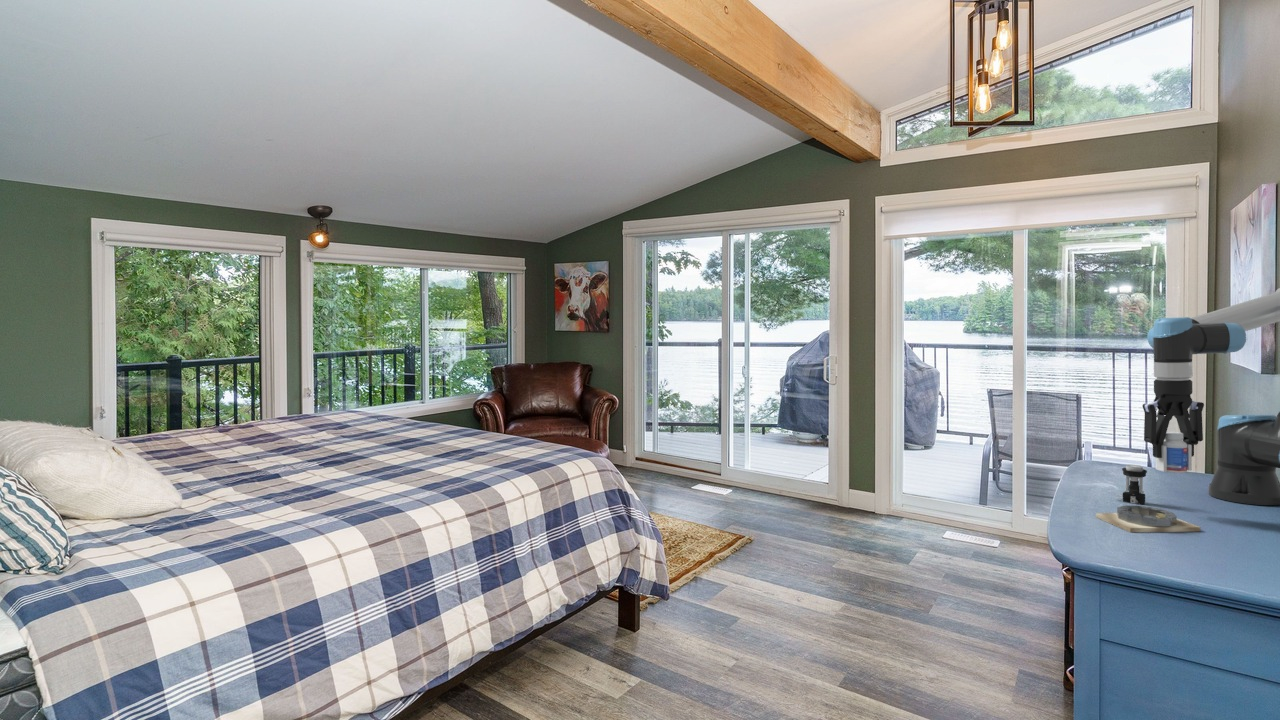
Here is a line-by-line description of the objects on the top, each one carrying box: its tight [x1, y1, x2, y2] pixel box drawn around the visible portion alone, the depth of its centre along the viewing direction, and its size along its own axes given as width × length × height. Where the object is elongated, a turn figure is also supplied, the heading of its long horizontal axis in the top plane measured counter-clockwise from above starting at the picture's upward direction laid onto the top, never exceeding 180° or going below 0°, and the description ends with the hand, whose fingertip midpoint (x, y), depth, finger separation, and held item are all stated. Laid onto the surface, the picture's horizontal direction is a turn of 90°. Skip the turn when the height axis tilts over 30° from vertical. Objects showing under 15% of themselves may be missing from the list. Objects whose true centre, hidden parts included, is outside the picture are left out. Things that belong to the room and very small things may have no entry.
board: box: [1095, 512, 1201, 533], centre depth 156 cm, size 16×12×1 cm
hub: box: [1116, 504, 1178, 527], centre depth 156 cm, size 11×11×3 cm
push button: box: [1115, 464, 1148, 506], centre depth 175 cm, size 7×5×10 cm
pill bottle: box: [1163, 431, 1188, 474], centre depth 163 cm, size 6×5×10 cm
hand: (1173, 469), depth 163 cm, fingers closed on pill bottle, 5 cm apart
